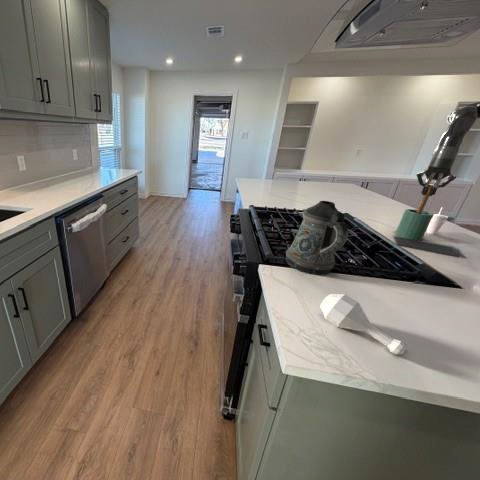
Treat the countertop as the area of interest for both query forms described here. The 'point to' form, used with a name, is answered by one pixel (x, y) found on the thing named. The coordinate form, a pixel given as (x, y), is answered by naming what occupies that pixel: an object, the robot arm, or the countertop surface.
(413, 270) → the countertop surface
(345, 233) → the beer stein
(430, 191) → the brush
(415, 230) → the jar
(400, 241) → the drying mat
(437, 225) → the smoothie
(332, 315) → the chicken leg
